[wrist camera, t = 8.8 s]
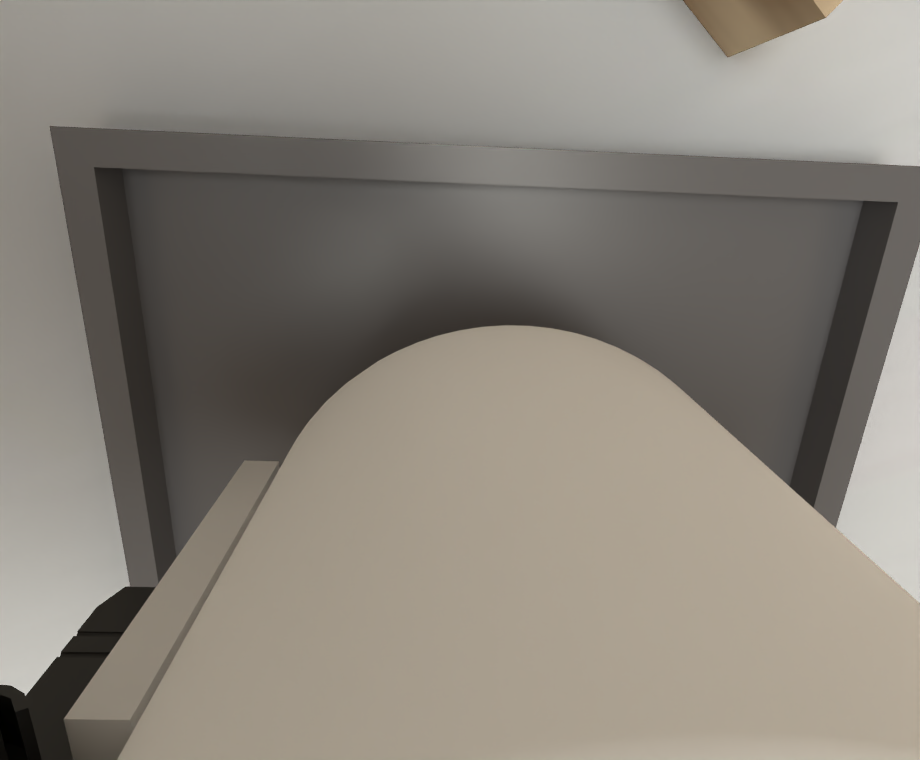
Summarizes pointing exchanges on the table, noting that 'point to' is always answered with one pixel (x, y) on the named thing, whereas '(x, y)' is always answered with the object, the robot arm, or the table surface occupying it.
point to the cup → (536, 583)
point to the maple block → (756, 19)
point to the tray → (463, 290)
